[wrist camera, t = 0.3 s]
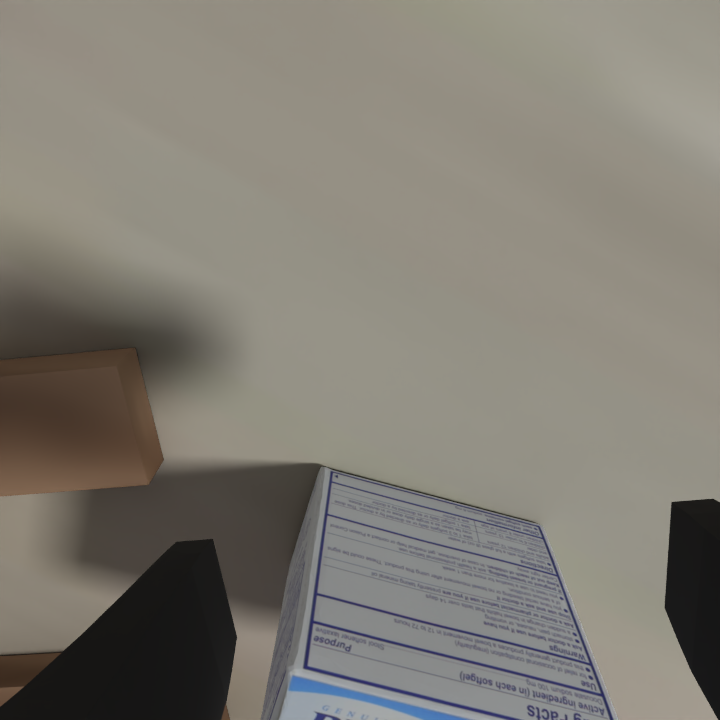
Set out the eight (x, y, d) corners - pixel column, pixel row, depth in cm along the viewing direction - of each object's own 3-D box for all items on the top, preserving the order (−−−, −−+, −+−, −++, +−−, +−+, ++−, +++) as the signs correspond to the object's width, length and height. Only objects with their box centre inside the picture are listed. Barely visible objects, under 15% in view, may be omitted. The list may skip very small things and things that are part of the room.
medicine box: (288, 562, 23) (237, 812, 15) (321, 457, 21) (284, 675, 13) (498, 616, 23) (559, 886, 15) (546, 519, 22) (642, 762, 14)
